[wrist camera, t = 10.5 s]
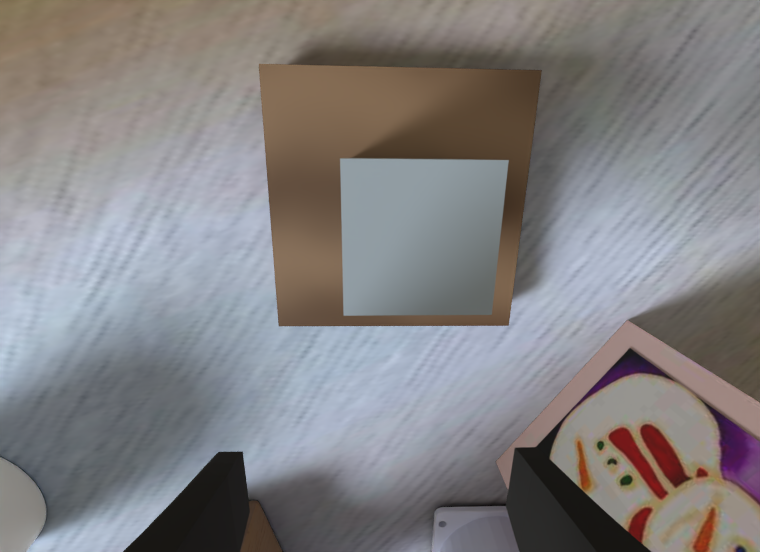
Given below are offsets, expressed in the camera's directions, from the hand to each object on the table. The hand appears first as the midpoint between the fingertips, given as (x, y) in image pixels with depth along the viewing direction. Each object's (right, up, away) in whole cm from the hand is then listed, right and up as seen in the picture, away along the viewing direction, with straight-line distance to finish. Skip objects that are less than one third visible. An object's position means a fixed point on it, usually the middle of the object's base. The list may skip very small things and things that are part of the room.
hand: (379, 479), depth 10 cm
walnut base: (+1, +9, +8) cm, 12 cm away
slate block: (+1, +8, +6) cm, 10 cm away
